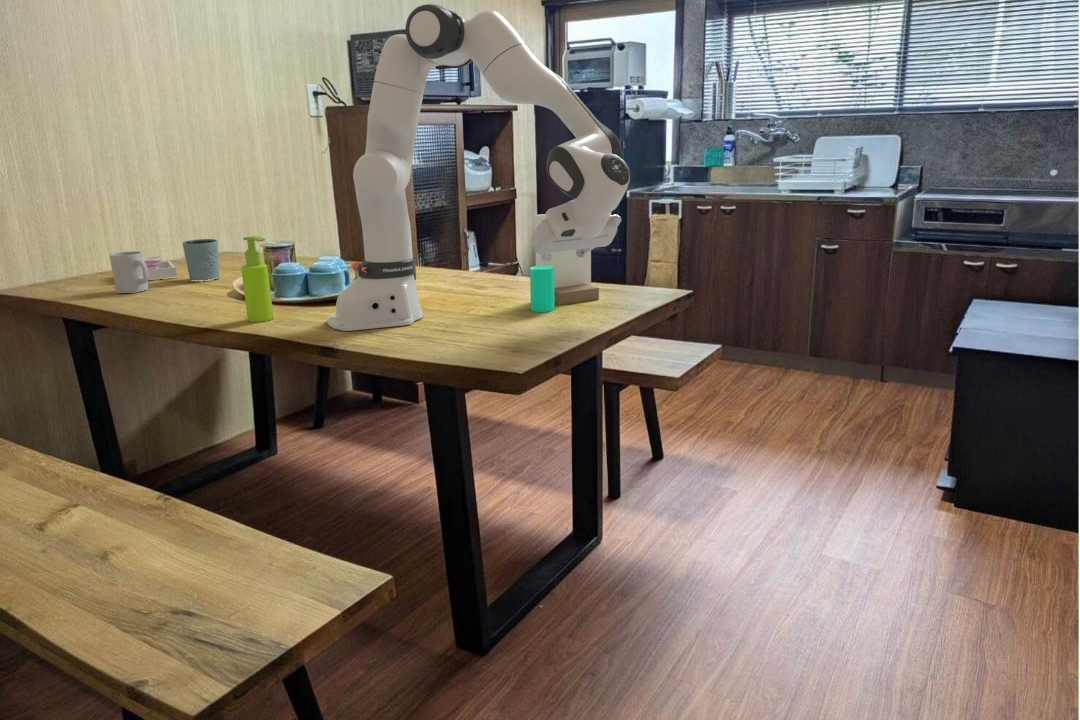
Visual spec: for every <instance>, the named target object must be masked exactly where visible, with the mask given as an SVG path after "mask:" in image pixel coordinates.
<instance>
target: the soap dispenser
mask: <svg viewBox="0 0 1080 720" xmlns="http://www.w3.org/2000/svg"><path fill="white" fill-rule="evenodd" d="M243 241H246V242H247V243H246V244H247V249H246V250H245V251H244V258H245V264H244V265H241V267H240V269H241V271H240V272H241V278H242V284H243V292H244V300H245V308H246V316H247V317H246V318H247V320H248V321H247V322H249V321H250V322H249V323H263V322H262V321H266V322H269V321H268V320H270V321H272V320H271V319H273V318H274V311H273V302H272V293H271V286H270V276H269V269H268V265H267V264H265V263H262V258H261V257H262V256H261V251H260V250H259V249H257V247H256V242H257V243H258V242H265V241H266V239H265V238H264V237H261V236H256V235H253V236H247V237H246V236H245V237H243ZM273 320H274V319H273Z"/></svg>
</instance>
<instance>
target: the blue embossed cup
mask: <svg viewBox="0 0 1080 720" xmlns="http://www.w3.org/2000/svg"><path fill="white" fill-rule="evenodd" d="M182 247H183V252H184V258H185V261H186V262H185V263H186V267H187V271H188V276H189V281H190V280H208V279H213V278H217V277H219V276H221V275H220V263H219V262H220V259H219V258H220V256H219V242H218V240H217V239H213V238H203V239H189V240H184V241H182Z"/></svg>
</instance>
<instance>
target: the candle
mask: <svg viewBox="0 0 1080 720" xmlns="http://www.w3.org/2000/svg"><path fill="white" fill-rule="evenodd" d="M541 263H542V261H541ZM529 283H530V284H529V285H530V286H529V287H530V288H529V289H530V290H529V291H530V311H532V312H533V313H534V312H536V313H548V312H552V311H555V301H554V268H553V267H551V266H545V267H544V266H536V265H534V266H531V267H529Z"/></svg>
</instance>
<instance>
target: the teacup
mask: <svg viewBox="0 0 1080 720" xmlns="http://www.w3.org/2000/svg"><path fill="white" fill-rule="evenodd" d="M143 259H144V262H145V264H146V266H147V269H148V270H149V269H159V267H158V266H159V264H160V263H159V262H162V256H160V255H159V256H157V255H155V256H154V255H153V256H143Z"/></svg>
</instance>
